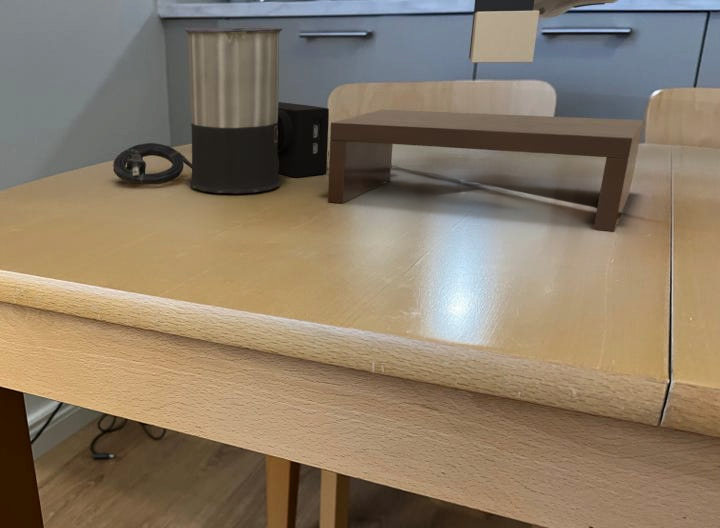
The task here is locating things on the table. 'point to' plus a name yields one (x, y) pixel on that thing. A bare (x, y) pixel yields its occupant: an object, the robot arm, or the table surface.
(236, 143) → the milk frother
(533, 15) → the tall dark upright panel
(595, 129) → the monitor stand
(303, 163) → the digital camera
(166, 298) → the table surface
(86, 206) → the table surface
